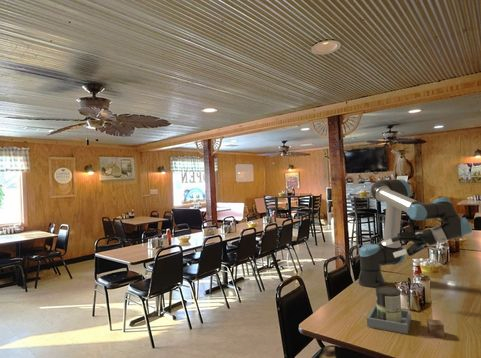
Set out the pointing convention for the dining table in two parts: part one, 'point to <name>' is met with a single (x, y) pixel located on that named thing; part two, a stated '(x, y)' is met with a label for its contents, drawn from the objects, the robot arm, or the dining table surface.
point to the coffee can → (388, 304)
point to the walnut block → (435, 328)
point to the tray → (389, 322)
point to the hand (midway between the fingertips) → (389, 249)
